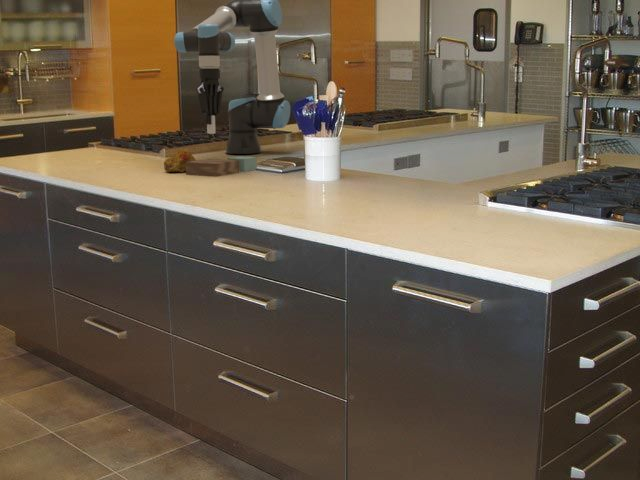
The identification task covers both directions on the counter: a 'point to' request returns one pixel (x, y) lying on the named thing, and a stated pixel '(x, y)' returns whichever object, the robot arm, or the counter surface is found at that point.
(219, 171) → the walnut block
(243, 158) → the teal block
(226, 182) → the counter surface
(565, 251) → the counter surface
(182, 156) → the rock
